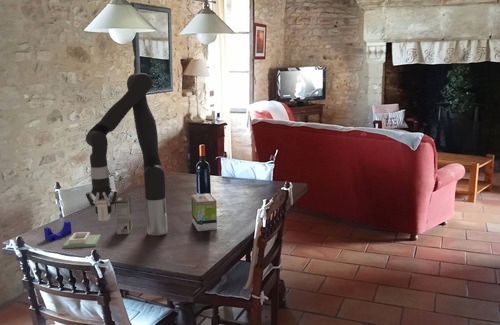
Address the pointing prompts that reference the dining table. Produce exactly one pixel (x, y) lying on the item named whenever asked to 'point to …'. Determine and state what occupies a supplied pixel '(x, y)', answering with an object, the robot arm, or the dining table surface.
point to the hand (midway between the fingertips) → (103, 213)
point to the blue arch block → (65, 231)
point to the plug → (102, 210)
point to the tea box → (204, 212)
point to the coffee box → (123, 215)
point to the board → (82, 240)
